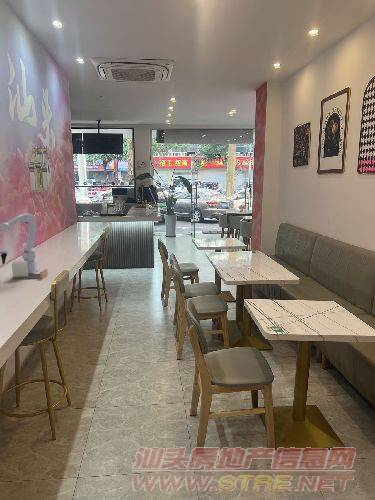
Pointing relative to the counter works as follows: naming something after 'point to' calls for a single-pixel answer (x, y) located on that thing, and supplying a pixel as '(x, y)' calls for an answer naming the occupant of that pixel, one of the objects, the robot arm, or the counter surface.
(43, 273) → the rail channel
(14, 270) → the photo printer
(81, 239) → the counter surface
